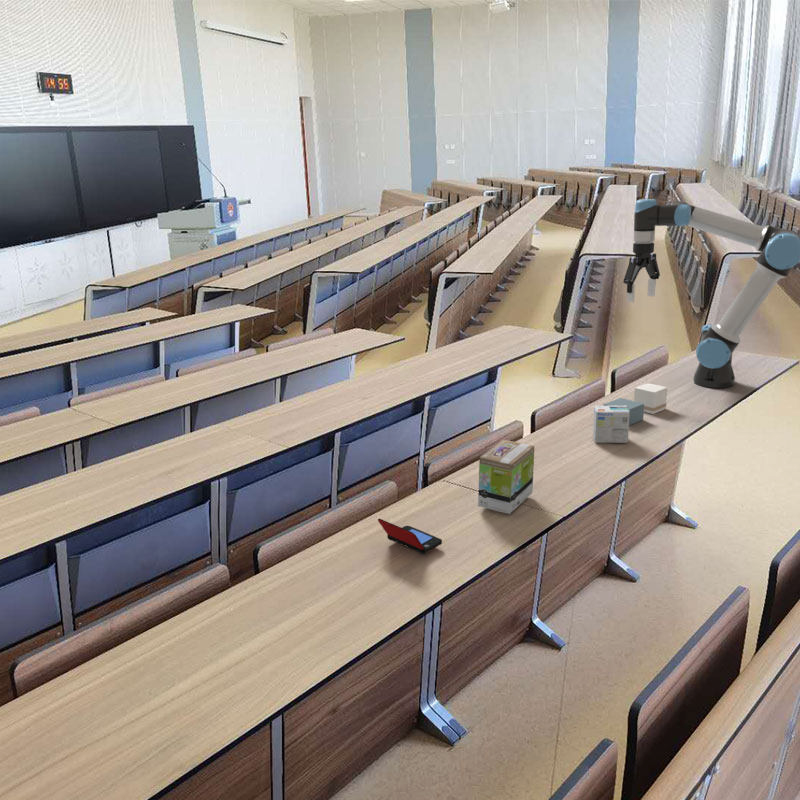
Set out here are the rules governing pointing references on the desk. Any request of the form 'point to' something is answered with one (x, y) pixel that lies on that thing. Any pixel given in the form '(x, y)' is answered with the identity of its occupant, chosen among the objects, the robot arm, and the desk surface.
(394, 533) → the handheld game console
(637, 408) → the grey-blue square block
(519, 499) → the tea box
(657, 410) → the carton
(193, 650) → the desk surface
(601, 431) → the light bulb box
